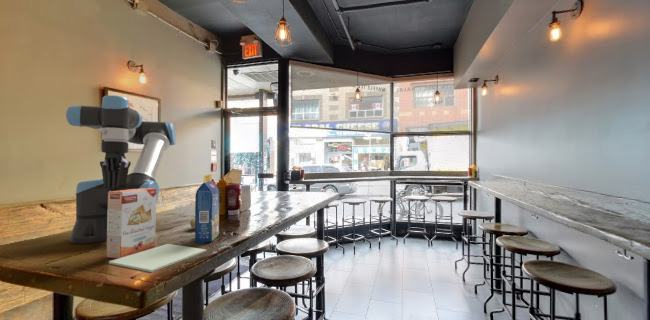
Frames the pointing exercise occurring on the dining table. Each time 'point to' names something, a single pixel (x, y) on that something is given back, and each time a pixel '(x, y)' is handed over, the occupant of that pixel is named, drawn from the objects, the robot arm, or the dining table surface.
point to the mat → (157, 257)
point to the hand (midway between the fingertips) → (114, 209)
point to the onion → (192, 223)
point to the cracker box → (130, 221)
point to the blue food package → (207, 211)
